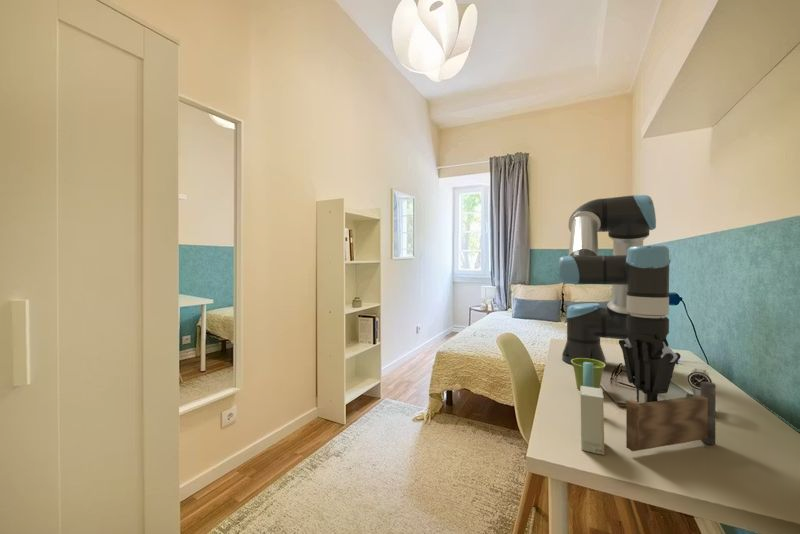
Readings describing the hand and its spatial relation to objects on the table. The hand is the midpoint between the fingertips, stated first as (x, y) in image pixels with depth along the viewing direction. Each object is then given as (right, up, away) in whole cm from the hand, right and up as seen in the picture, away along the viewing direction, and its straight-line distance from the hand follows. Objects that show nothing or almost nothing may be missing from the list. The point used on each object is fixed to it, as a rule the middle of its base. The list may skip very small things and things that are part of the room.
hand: (646, 419), depth 72 cm
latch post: (-4, -5, +15) cm, 17 cm away
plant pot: (+4, -5, +30) cm, 30 cm away
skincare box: (-13, -6, -1) cm, 14 cm away
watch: (+26, -5, +15) cm, 30 cm away
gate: (+4, -5, -3) cm, 7 cm away
